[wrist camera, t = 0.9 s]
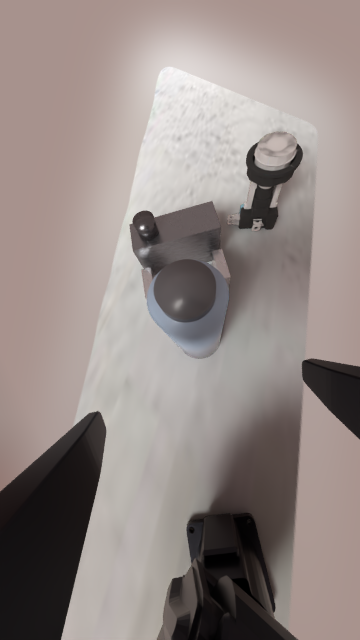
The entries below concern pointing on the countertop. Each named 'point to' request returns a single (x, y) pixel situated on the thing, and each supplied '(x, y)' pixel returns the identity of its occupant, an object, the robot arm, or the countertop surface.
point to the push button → (267, 179)
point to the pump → (190, 305)
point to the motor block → (177, 240)
